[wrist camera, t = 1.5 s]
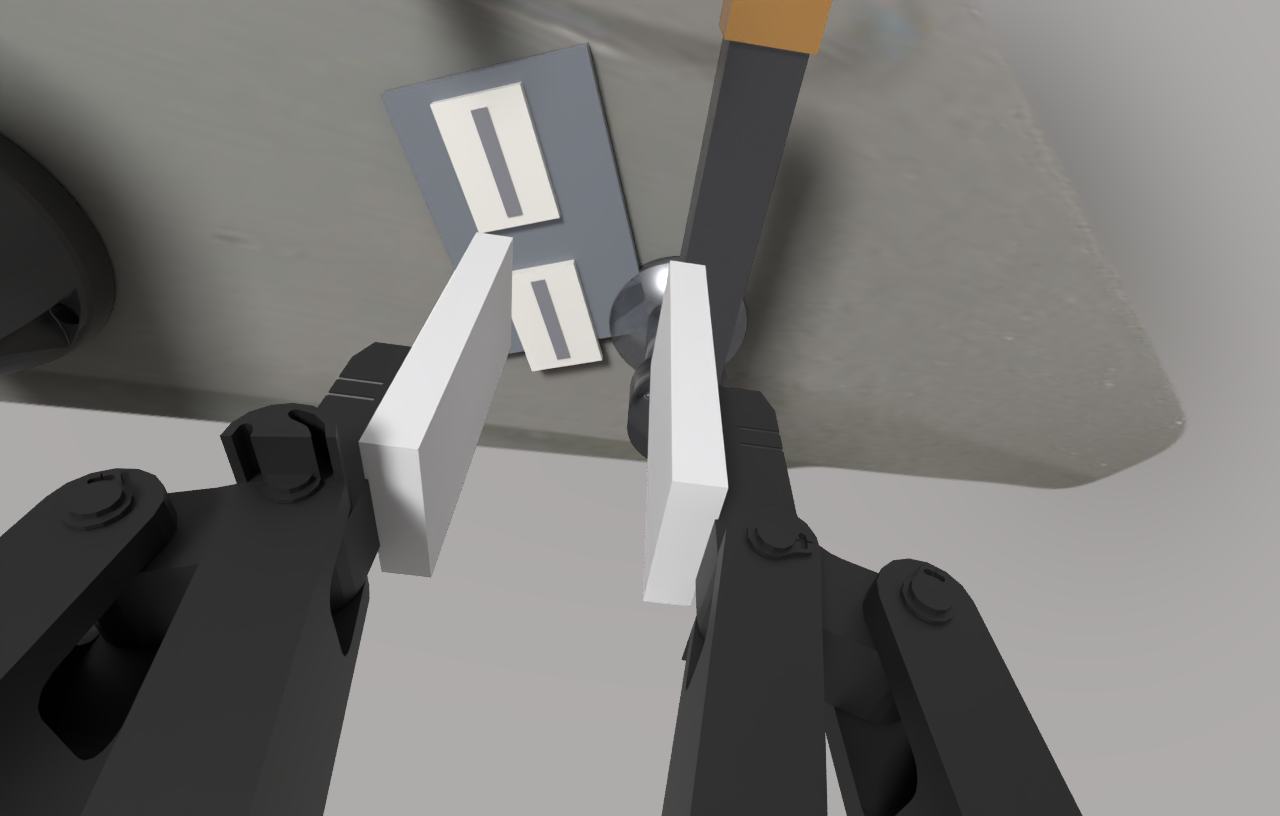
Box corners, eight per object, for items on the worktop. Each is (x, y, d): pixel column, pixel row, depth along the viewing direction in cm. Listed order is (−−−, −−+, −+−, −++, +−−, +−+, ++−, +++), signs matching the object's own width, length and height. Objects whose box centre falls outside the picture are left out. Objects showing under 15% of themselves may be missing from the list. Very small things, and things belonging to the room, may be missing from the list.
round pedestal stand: (626, 382, 41) (620, 451, 36) (595, 269, 36) (583, 331, 31) (752, 363, 40) (764, 431, 35) (737, 244, 35) (749, 303, 30)
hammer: (717, 433, 34) (720, 472, 32) (624, 421, 34) (621, 460, 32) (845, -10, 22) (866, 2, 19) (699, -36, 21) (703, -27, 19)
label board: (500, 365, 40) (496, 378, 39) (386, 90, 31) (375, 97, 30) (656, 339, 39) (656, 352, 38) (588, 42, 29) (585, 48, 28)
